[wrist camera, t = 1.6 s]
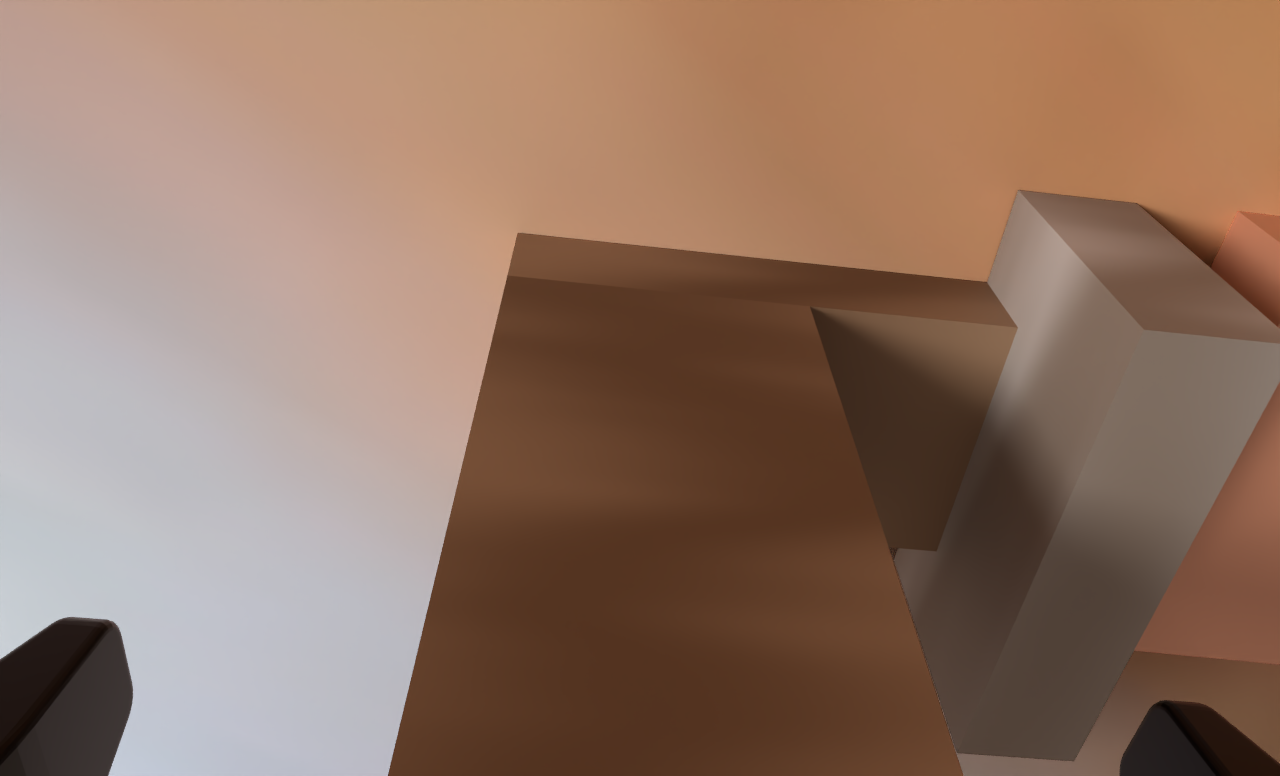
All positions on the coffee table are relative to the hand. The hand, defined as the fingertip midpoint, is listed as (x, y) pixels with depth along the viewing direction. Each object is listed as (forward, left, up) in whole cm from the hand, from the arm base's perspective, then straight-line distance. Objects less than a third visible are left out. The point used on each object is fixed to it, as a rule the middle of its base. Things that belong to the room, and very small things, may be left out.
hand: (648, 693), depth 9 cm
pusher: (-2, 0, -6) cm, 6 cm away
